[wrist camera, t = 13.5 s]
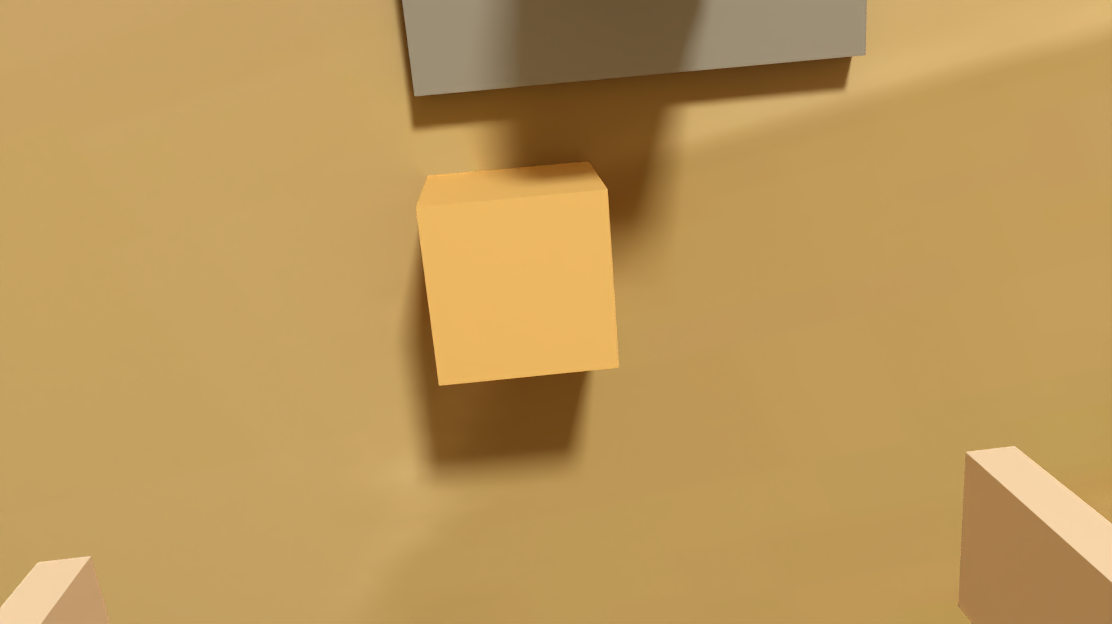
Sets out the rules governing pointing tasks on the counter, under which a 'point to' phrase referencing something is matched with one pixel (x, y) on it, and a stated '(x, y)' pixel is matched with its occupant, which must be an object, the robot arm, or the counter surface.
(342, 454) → the counter surface
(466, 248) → the ochre brick
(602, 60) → the baseplate
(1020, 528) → the robot arm
